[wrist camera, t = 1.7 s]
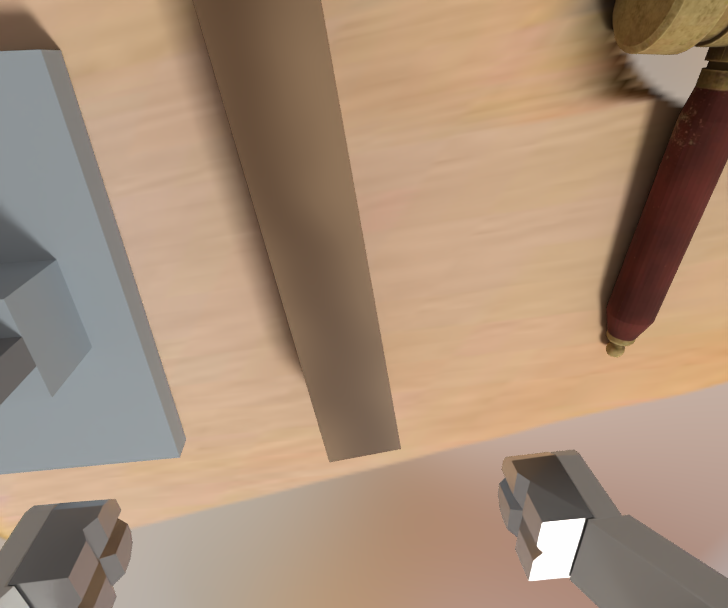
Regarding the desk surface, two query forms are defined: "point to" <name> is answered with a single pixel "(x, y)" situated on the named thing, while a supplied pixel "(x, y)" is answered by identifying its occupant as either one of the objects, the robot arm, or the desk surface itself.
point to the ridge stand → (68, 293)
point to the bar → (305, 207)
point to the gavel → (672, 156)
